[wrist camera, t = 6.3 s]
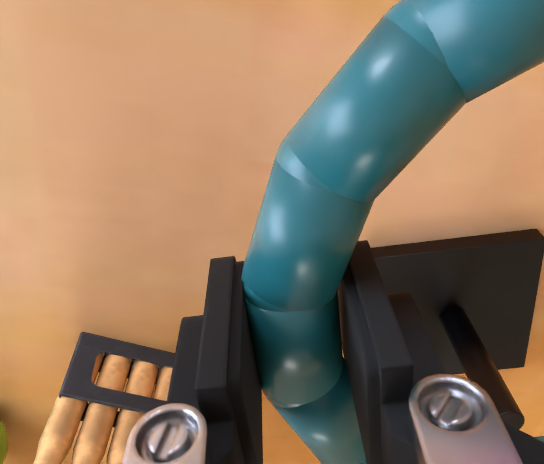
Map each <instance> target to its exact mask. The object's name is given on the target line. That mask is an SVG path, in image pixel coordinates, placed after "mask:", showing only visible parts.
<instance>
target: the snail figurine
mask: <svg viewBox="0 0 544 464" xmlns="http://www.w3.org/2000/svg"><path fill="white" fill-rule="evenodd" d="M7 450H8V434H7V431H6V428H5V426H4V424H3V422H2V421H1V420H0V464H3V462H4V460H5V457H6V454H7Z"/></svg>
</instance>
